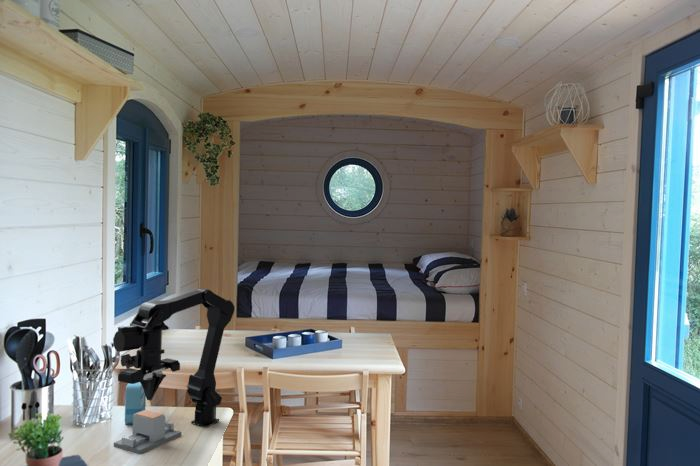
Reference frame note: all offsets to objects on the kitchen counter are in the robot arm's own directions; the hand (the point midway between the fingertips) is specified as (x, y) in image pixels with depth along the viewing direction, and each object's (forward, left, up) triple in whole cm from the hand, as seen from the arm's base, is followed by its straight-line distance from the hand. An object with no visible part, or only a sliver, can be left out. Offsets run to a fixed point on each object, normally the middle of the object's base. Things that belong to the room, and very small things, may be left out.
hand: (149, 400), depth 168 cm
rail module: (0, 0, -11) cm, 11 cm away
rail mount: (0, 0, -12) cm, 12 cm away
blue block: (-11, -17, -12) cm, 24 cm away
